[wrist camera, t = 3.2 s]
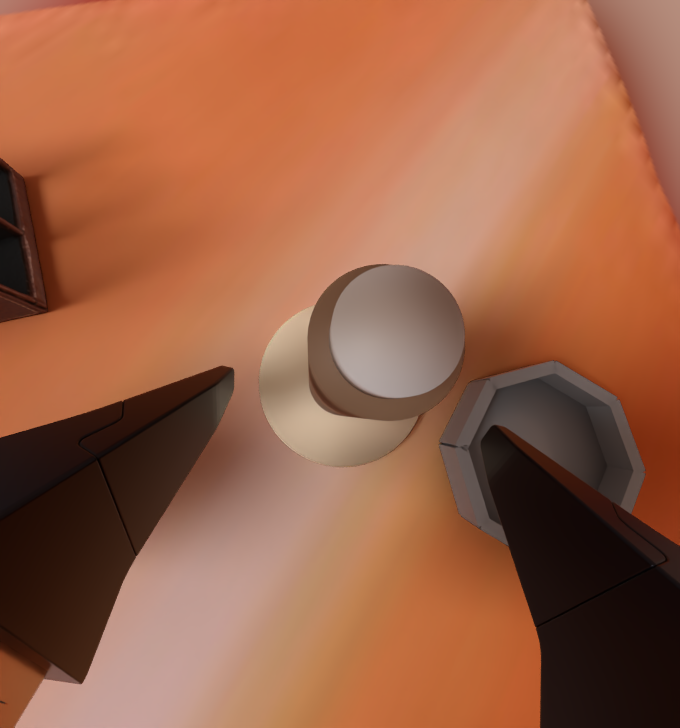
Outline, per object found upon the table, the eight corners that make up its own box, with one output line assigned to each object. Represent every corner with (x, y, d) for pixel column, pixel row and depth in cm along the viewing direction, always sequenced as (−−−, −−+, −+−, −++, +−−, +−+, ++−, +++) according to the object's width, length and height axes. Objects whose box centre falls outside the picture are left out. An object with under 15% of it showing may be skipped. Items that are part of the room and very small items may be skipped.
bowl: (628, 515, 22) (666, 527, 20) (475, 569, 20) (497, 589, 18) (570, 354, 23) (600, 347, 21) (423, 393, 22) (437, 391, 19)
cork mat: (441, 440, 21) (445, 440, 21) (281, 486, 20) (280, 488, 20) (397, 288, 23) (399, 285, 22) (243, 322, 21) (242, 320, 21)
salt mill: (386, 405, 21) (511, 395, 8) (318, 424, 20) (333, 445, 7) (367, 339, 22) (456, 228, 8) (301, 355, 21) (287, 262, 8)
